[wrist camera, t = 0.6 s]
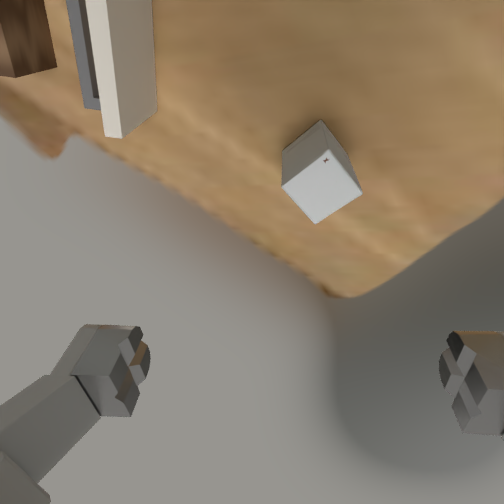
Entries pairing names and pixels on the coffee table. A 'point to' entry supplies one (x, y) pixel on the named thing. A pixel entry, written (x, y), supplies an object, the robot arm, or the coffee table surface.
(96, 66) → the board
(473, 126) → the coffee table surface
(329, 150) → the supplement box
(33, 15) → the walnut panel
